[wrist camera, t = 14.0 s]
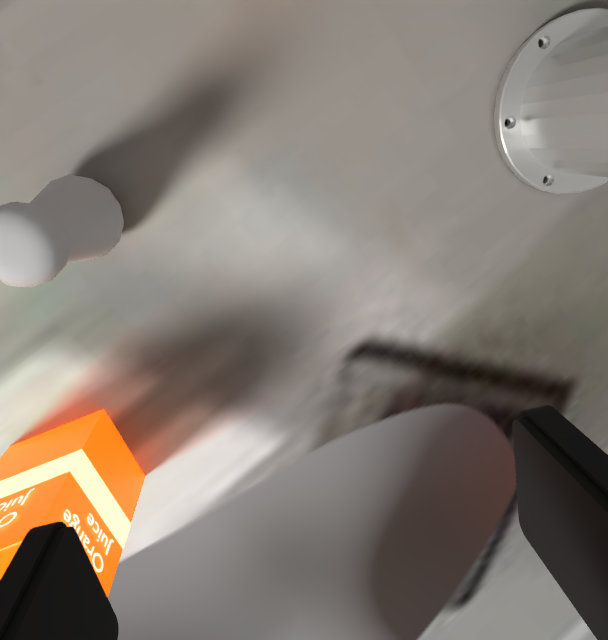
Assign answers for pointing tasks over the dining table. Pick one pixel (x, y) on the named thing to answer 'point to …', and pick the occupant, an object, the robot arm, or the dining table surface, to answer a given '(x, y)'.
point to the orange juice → (71, 489)
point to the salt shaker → (57, 230)
